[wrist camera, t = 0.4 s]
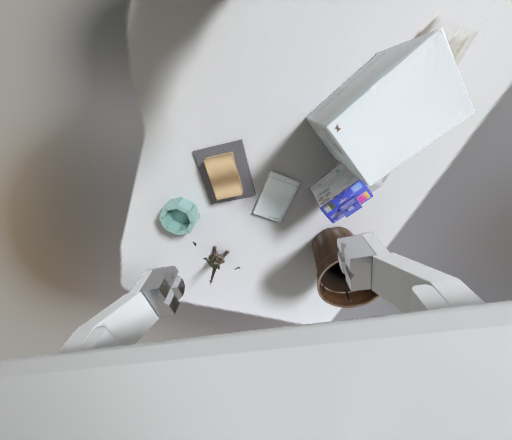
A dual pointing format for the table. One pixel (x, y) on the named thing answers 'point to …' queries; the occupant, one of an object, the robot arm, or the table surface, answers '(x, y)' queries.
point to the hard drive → (276, 196)
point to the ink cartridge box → (340, 193)
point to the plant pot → (336, 272)
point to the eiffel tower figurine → (215, 261)
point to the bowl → (179, 216)
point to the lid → (224, 175)
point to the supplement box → (393, 107)
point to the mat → (240, 163)
